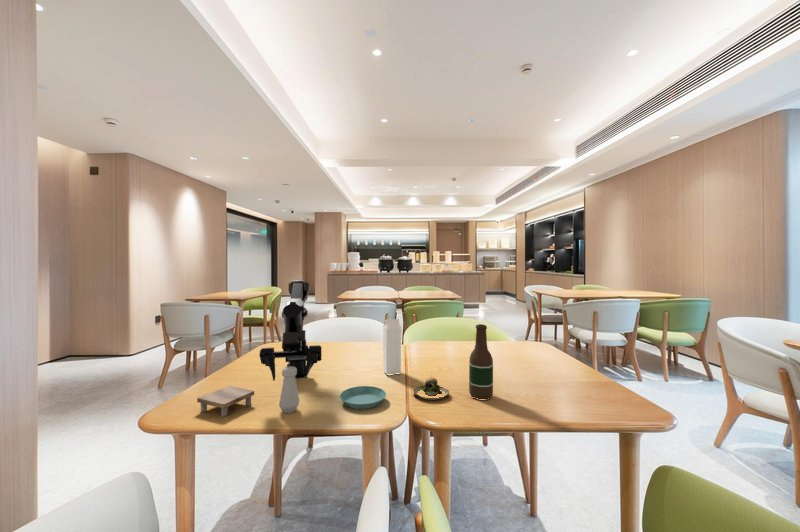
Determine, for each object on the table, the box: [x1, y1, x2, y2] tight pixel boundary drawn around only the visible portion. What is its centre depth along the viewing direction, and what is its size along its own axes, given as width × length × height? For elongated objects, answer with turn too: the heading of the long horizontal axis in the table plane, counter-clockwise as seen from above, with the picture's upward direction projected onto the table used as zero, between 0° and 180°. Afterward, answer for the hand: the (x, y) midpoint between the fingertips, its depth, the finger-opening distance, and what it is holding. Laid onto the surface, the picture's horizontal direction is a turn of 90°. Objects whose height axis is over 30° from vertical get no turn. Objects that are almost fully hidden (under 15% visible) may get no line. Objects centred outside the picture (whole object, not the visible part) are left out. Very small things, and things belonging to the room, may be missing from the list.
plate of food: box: [413, 376, 450, 400], centre depth 113 cm, size 12×12×8 cm
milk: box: [382, 318, 402, 374], centre depth 136 cm, size 6×6×22 cm
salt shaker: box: [278, 366, 300, 414], centre depth 100 cm, size 6×6×13 cm
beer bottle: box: [468, 324, 494, 399], centre depth 112 cm, size 8×8×24 cm
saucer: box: [339, 385, 387, 410], centre depth 107 cm, size 15×15×3 cm
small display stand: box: [196, 385, 255, 418], centre depth 102 cm, size 11×11×4 cm
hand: (289, 379), depth 102 cm, fingers open, 9 cm apart
